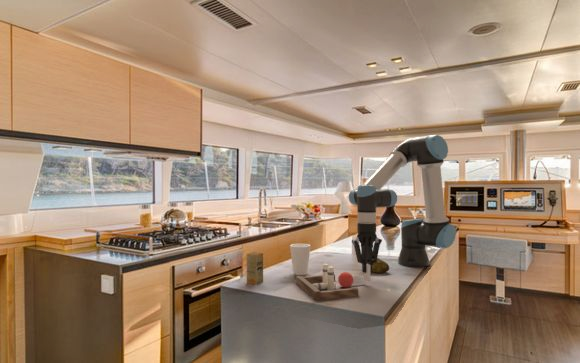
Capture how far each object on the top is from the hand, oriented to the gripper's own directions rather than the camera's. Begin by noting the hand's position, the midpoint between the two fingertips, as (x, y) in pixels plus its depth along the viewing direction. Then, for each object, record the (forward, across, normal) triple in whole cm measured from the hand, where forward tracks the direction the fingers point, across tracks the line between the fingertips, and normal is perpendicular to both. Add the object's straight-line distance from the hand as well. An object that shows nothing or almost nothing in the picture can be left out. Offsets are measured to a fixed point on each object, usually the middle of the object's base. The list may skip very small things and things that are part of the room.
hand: (367, 280), depth 139 cm
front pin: (+1, +14, 0) cm, 14 cm away
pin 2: (+2, +17, +2) cm, 18 cm away
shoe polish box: (+2, +43, -18) cm, 47 cm away
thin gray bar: (+2, +5, 0) cm, 5 cm away
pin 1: (+2, +17, -2) cm, 18 cm away
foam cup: (+2, +20, -26) cm, 33 cm away
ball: (-1, +10, 0) cm, 10 cm away
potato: (+2, -14, -18) cm, 23 cm away
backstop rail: (+2, +18, 0) cm, 18 cm away
